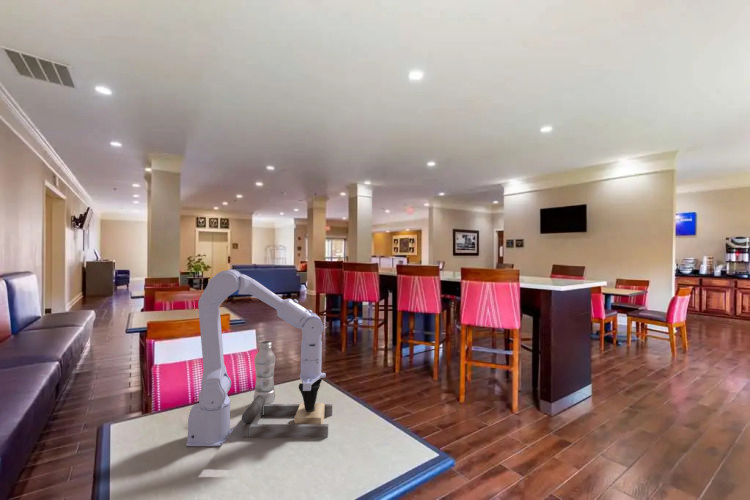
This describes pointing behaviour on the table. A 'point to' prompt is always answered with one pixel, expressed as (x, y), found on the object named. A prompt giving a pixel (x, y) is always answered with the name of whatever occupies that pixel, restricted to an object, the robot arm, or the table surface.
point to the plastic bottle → (265, 372)
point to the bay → (280, 430)
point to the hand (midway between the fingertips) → (310, 407)
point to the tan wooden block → (310, 414)
